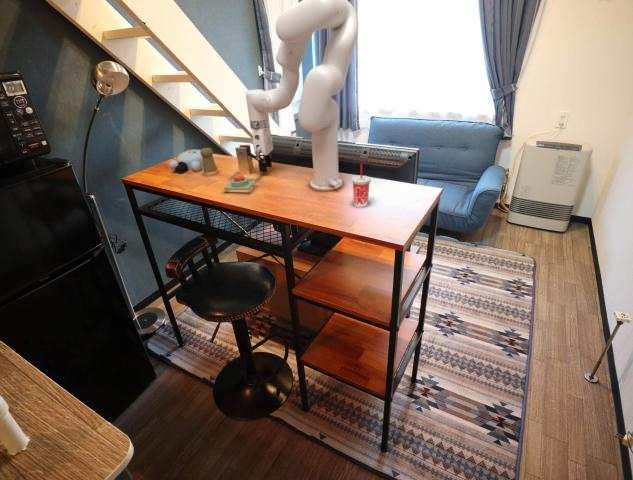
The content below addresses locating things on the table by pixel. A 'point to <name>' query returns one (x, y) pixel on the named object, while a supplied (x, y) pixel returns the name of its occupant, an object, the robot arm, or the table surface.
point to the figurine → (187, 161)
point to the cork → (208, 160)
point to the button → (239, 178)
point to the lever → (254, 156)
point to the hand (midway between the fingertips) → (265, 168)
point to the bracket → (244, 160)
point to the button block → (239, 185)
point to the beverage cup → (361, 190)
